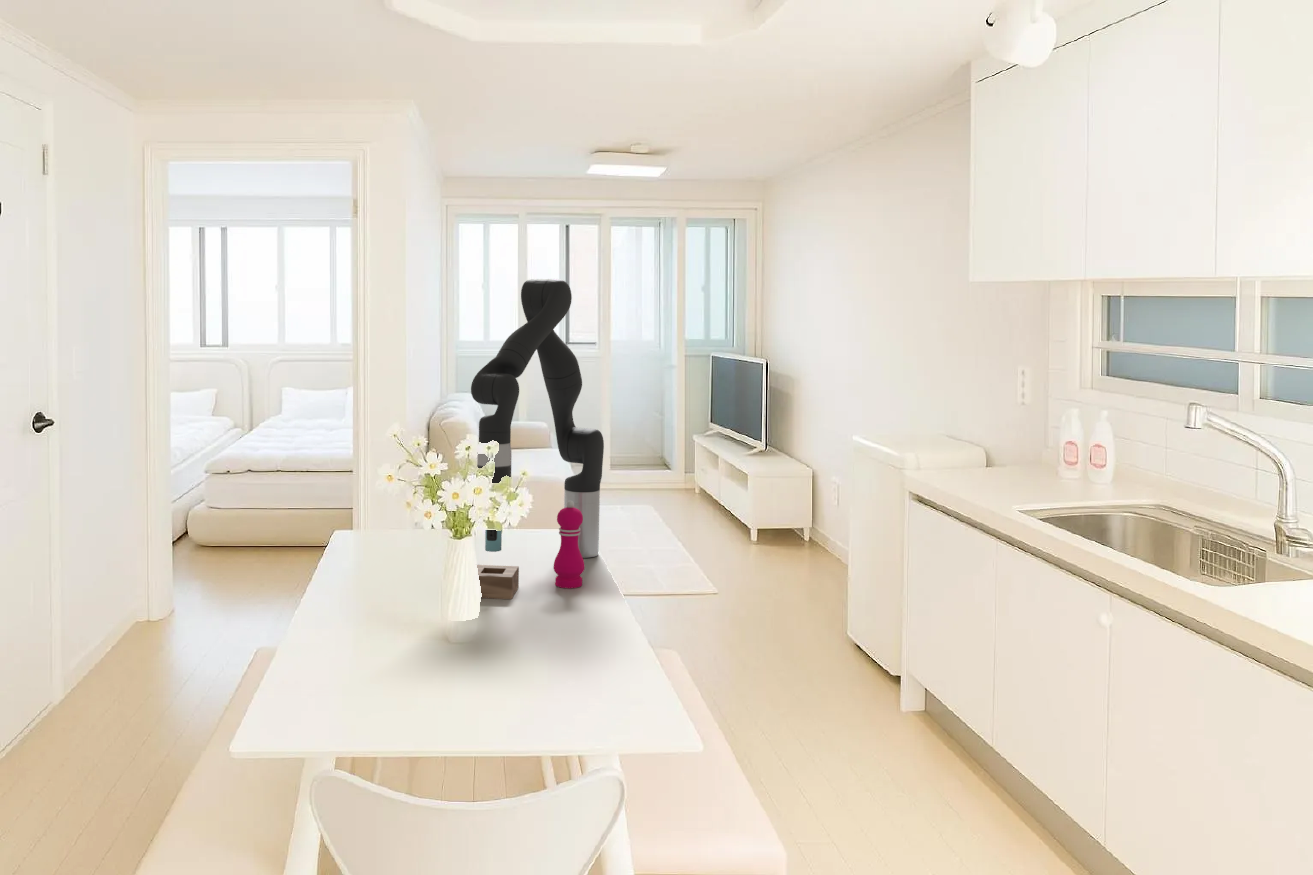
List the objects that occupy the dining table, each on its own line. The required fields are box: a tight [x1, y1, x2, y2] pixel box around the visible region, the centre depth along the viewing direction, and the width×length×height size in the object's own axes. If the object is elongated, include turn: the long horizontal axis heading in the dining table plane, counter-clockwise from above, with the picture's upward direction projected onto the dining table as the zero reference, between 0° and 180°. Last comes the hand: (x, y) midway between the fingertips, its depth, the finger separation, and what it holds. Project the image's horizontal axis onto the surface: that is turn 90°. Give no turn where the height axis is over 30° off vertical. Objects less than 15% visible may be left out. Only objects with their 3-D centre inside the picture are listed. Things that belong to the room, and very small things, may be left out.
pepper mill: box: [553, 501, 586, 589], centre depth 255 cm, size 7×7×20 cm
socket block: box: [476, 564, 520, 600], centre depth 247 cm, size 10×10×5 cm
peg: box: [484, 530, 503, 553], centre depth 246 cm, size 4×4×10 cm
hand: (493, 538), depth 246 cm, fingers closed on peg, 3 cm apart
